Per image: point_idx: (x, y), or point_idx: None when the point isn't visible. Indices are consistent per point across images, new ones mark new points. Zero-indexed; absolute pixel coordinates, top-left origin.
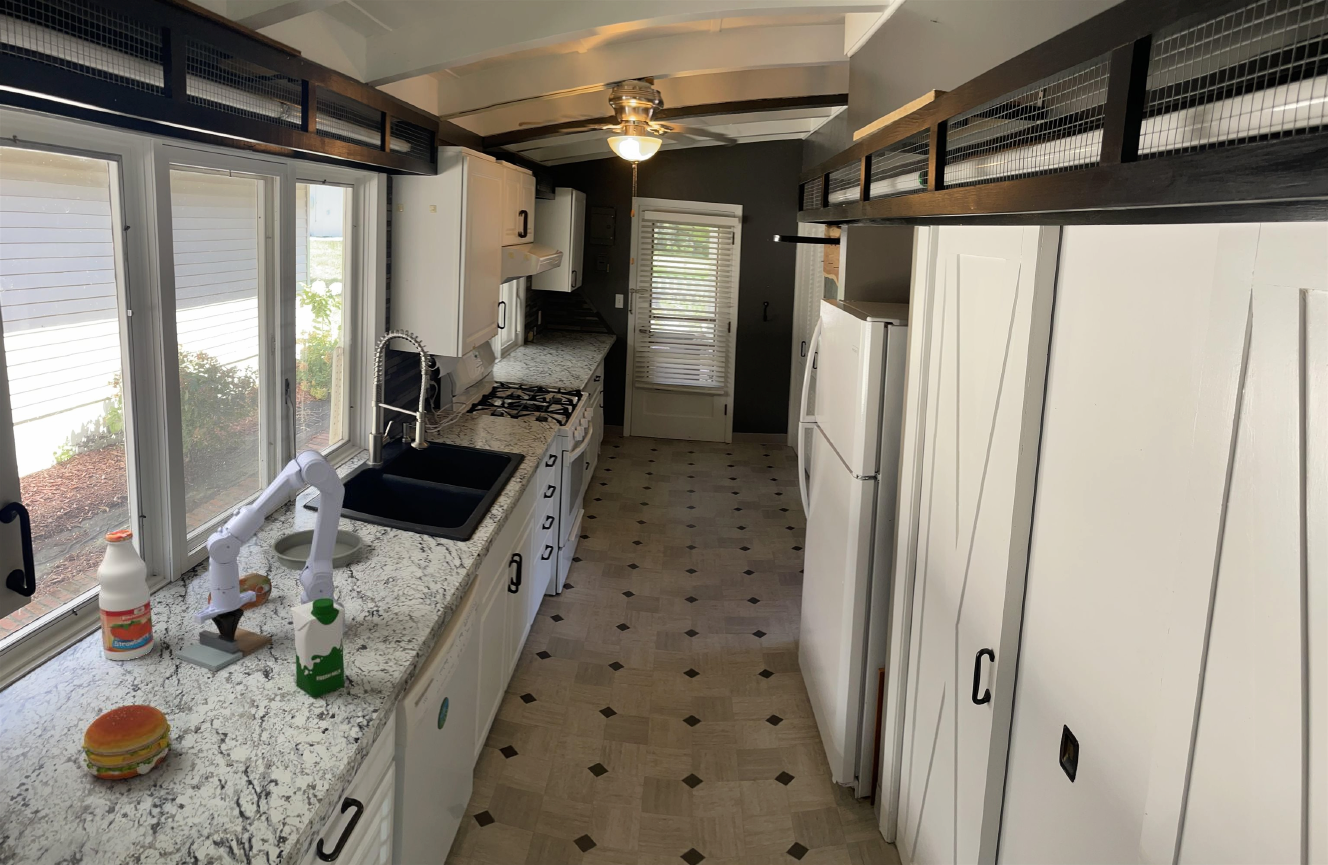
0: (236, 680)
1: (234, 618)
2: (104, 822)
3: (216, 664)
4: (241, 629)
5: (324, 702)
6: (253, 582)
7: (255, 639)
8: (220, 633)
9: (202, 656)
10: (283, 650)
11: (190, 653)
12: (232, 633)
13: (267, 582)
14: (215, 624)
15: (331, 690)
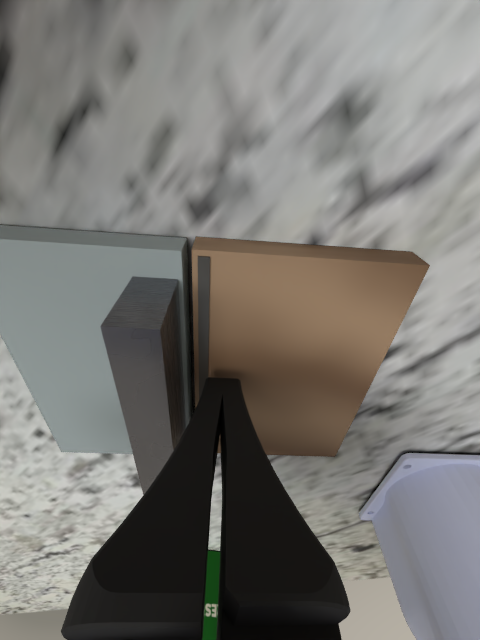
0: (92, 481)
1: (218, 598)
2: None
3: (72, 447)
4: (388, 329)
5: None
6: None
7: (305, 426)
8: (194, 414)
9: (63, 379)
10: (292, 475)
11: (29, 317)
12: (221, 458)
13: None
14: (156, 477)
15: None
